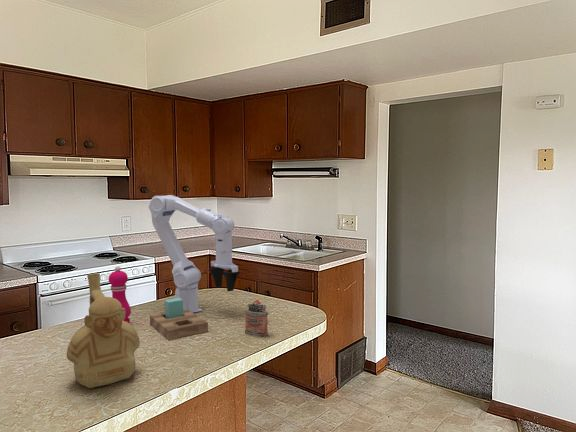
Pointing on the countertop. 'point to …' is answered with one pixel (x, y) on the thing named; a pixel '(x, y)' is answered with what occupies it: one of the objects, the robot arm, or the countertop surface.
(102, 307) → the ceramic vessel
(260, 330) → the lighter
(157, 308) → the countertop surface
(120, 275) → the pepper mill
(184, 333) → the socket board
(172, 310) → the teal cuboid tower
